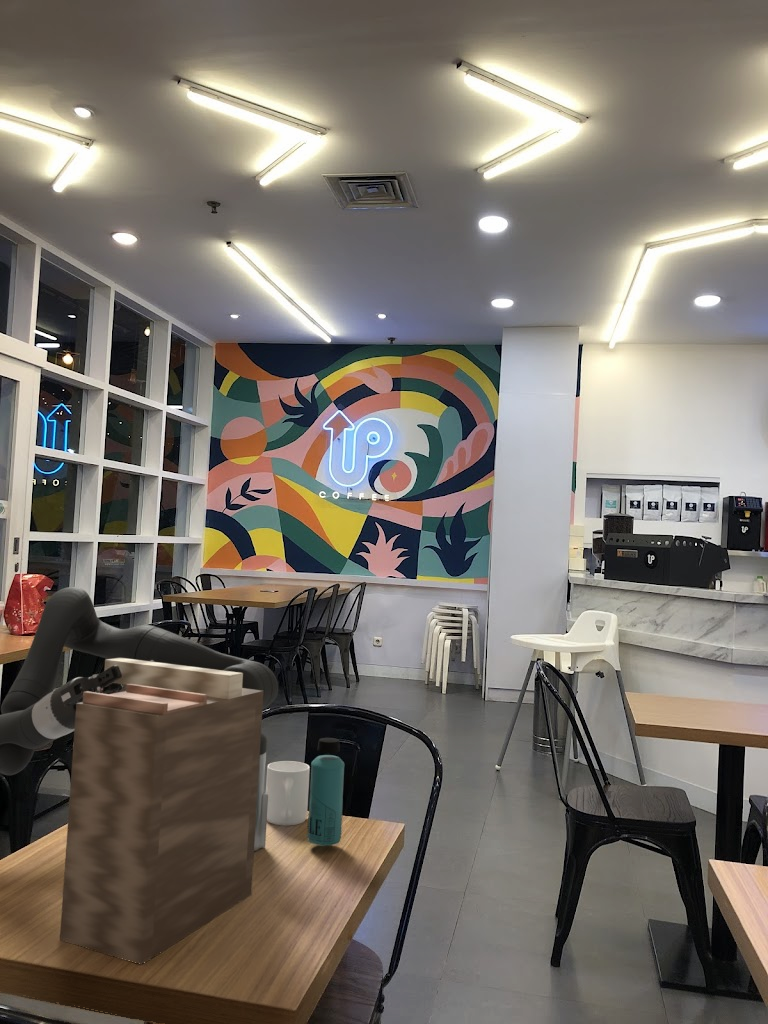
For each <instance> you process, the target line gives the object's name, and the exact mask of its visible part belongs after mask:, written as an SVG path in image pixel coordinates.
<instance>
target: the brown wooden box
mask: <svg viewBox="0 0 768 1024" xmlns="http://www.w3.org/2000/svg"><path fill="white" fill-rule="evenodd" d="M262 707H263V691H261V690H254V689H246V688H242V696H240V697H235V698H231V699H224V698H217V697H210V696H207V694H200V693H193V692H186V691H179V690H171V689H164V688H157V687H150V686H143V685H136V684H127V686H126V691H124V692H119V693H113V694H103V693H96V692H89V691H86V692H83V702H80V703H76V716H75V730H74V731H73V732H74V733H73V743H72V745H73V747H72V762H71V774H70V789H69V790H70V791H69V804H68V817H67V818H68V819H67V830H66V831H67V832H66V834H67V835H66V844H65V845H66V847H65V859H64V875H63V886H62V887H63V889H62V903H61V918H60V929H59V931H60V933H59V941H62V942H66V943H69V944H71V945H75V944H76V945H75V946H78V945H79V947H81V946H82V947H81V948H84V947H87V948H89V950H91V949H92V950H91V951H94V950H96V951H95V952H97V951H99V952H98V953H100V952H101V953H100V954H103V953H104V955H107V954H109V955H108V956H110V955H111V957H113V956H116V957H119V958H123V959H126V960H130V961H133V962H136V963H140V964H142V963H144V962H146V961H147V960H149V959H150V960H152V959H153V958H152V957H154V956H155V957H157V956H158V955H159V953H160V952H161V953H163V952H164V951H166V950H168V949H169V948H170V946H171V947H172V946H174V945H175V944H177V943H178V942H180V941H181V940H184V939H185V938H187V937H188V936H189V935H191V934H193V933H194V932H196V931H197V930H199V929H200V928H202V927H203V926H205V925H206V924H208V923H210V922H212V921H213V920H215V919H216V918H218V917H219V916H221V915H222V914H224V913H226V912H227V911H229V910H230V909H232V908H233V907H236V906H237V905H238V904H239V903H241V902H243V901H245V900H246V899H248V898H249V897H251V896H252V894H253V892H252V891H253V890H252V889H253V875H254V858H255V857H254V856H255V851H254V843H255V826H256V809H257V792H258V775H259V758H260V741H261V733H262V721H263V709H262ZM87 948H86V949H87ZM167 948H168V949H167ZM165 949H166V950H165ZM162 951H163V952H162ZM161 953H160V954H161ZM157 954H158V955H157ZM156 955H157V956H156ZM116 957H115V958H116ZM155 957H154V958H155ZM119 958H118V959H119ZM151 958H152V959H151ZM123 959H122V960H123ZM126 960H125V961H126ZM150 960H149V961H150ZM147 962H148V961H147ZM147 962H146V963H147ZM144 964H145V963H144Z"/></svg>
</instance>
